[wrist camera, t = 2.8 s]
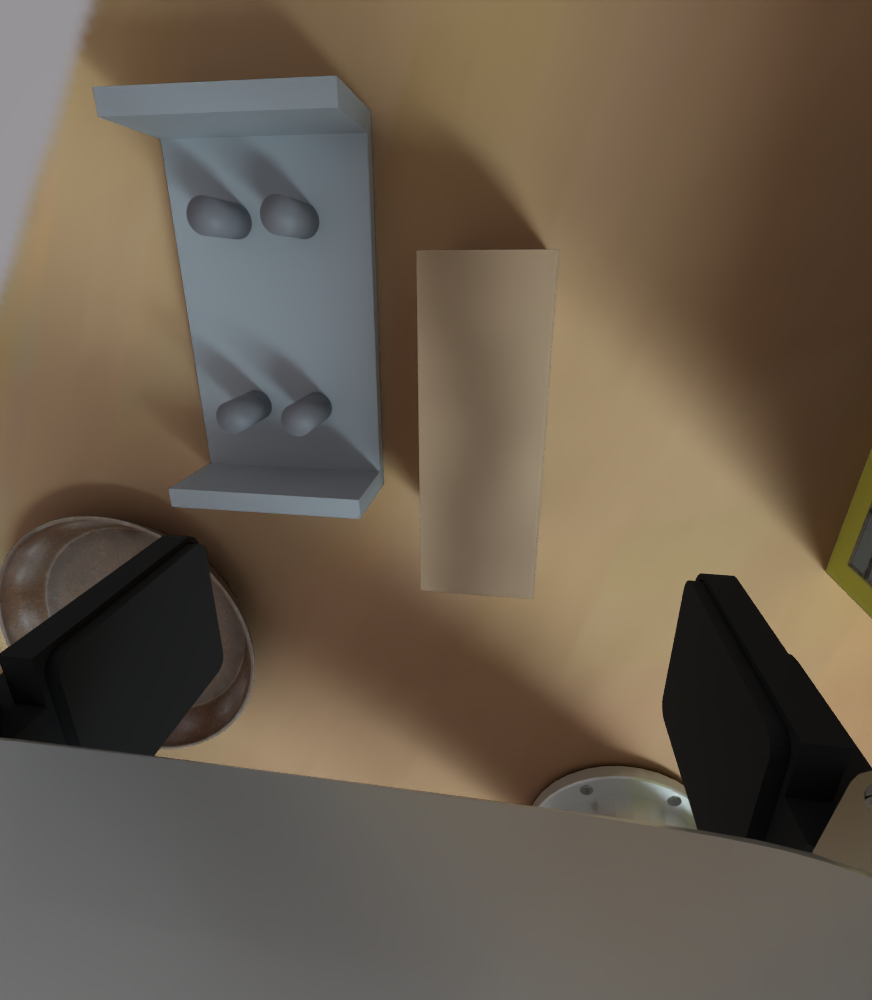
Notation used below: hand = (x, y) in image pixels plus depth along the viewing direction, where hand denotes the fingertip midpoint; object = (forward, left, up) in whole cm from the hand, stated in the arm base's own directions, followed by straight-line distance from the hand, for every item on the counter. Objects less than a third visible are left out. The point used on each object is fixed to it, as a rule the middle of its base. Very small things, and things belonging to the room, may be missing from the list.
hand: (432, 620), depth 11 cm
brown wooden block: (0, 0, -20) cm, 20 cm away
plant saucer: (+23, +16, -21) cm, 35 cm away
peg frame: (+11, -4, -20) cm, 23 cm away
